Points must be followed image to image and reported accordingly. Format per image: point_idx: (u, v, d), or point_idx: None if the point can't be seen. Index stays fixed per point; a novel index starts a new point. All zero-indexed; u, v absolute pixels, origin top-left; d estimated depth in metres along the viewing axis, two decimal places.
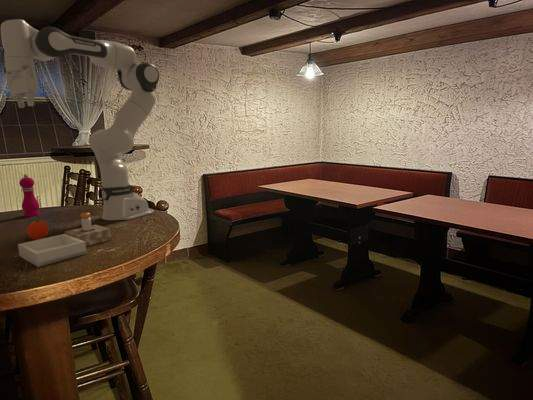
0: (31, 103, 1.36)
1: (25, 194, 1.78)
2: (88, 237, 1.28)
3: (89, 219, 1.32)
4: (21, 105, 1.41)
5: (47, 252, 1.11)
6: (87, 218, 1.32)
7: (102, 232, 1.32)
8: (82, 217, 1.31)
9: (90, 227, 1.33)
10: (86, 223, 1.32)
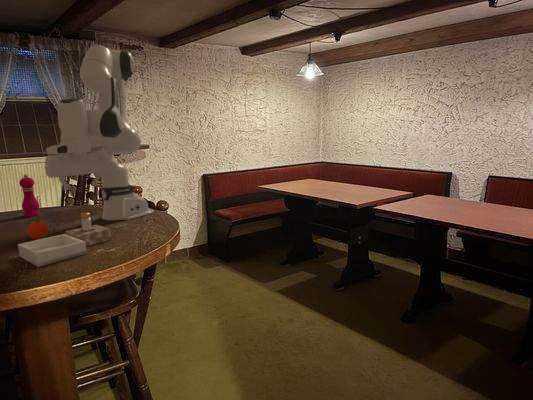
0: None
1: (25, 194, 1.78)
2: (88, 237, 1.28)
3: (89, 219, 1.32)
4: None
5: (47, 252, 1.11)
6: (87, 218, 1.32)
7: (102, 232, 1.32)
8: (82, 217, 1.31)
9: (90, 227, 1.33)
10: (86, 223, 1.32)
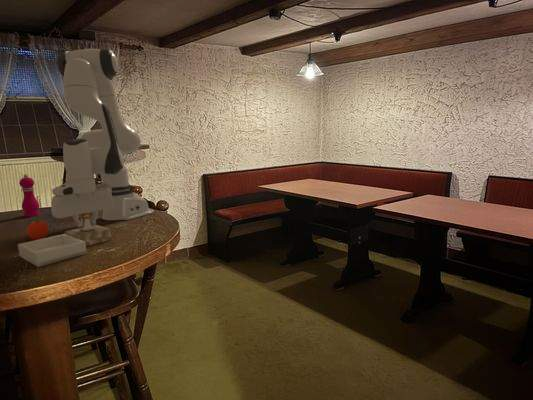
0: None
1: (25, 194, 1.78)
2: (88, 237, 1.28)
3: (89, 219, 1.32)
4: None
5: (47, 252, 1.11)
6: (87, 218, 1.31)
7: (102, 232, 1.32)
8: (82, 217, 1.31)
9: (90, 227, 1.33)
10: (86, 223, 1.31)
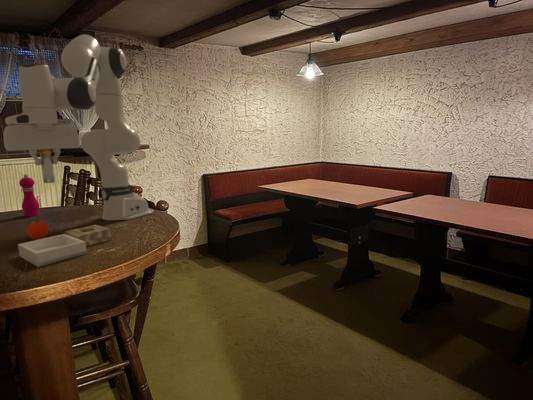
0: None
1: (25, 194, 1.78)
2: (88, 237, 1.28)
3: (49, 156, 1.16)
4: None
5: (47, 252, 1.11)
6: (47, 155, 1.15)
7: (102, 232, 1.32)
8: (41, 153, 1.15)
9: (50, 166, 1.16)
10: (46, 160, 1.15)
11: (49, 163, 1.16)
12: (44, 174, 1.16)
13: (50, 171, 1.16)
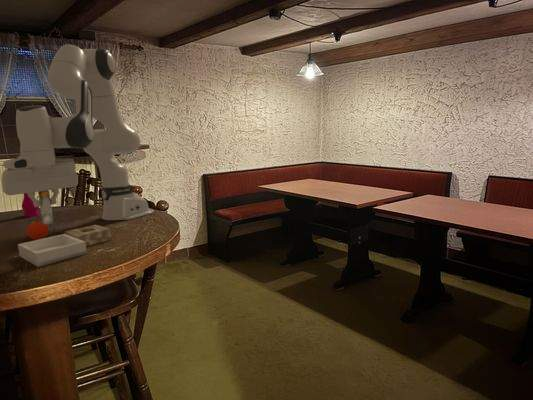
0: None
1: (25, 194, 1.78)
2: (88, 237, 1.28)
3: (48, 197, 1.16)
4: None
5: (47, 252, 1.11)
6: (45, 196, 1.15)
7: (102, 232, 1.32)
8: (39, 195, 1.15)
9: (49, 207, 1.16)
10: (44, 201, 1.15)
11: (48, 204, 1.16)
12: (43, 215, 1.16)
13: (49, 212, 1.16)
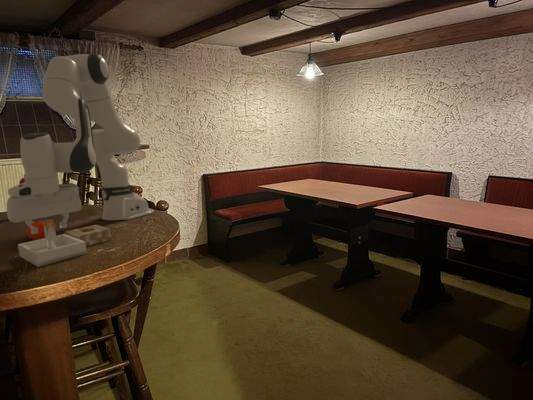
0: None
1: None
2: (88, 237, 1.28)
3: (53, 227, 1.18)
4: None
5: (47, 252, 1.11)
6: (50, 226, 1.17)
7: (102, 232, 1.32)
8: (45, 225, 1.17)
9: (54, 236, 1.18)
10: (49, 231, 1.17)
11: (53, 234, 1.18)
12: (48, 245, 1.18)
13: (54, 241, 1.18)
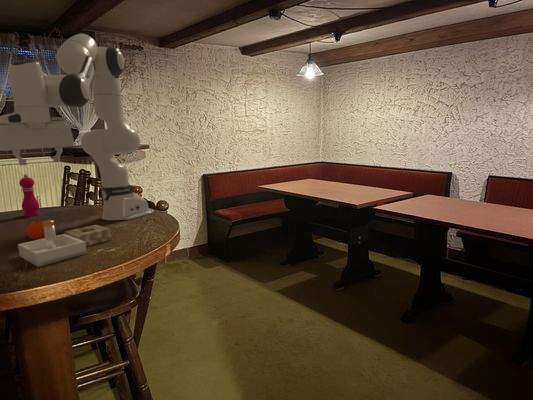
0: None
1: (25, 194, 1.78)
2: (88, 237, 1.28)
3: (53, 227, 1.18)
4: None
5: (47, 252, 1.11)
6: (50, 226, 1.17)
7: (102, 232, 1.32)
8: (44, 225, 1.17)
9: (54, 236, 1.18)
10: (49, 232, 1.17)
11: (52, 234, 1.18)
12: (48, 245, 1.18)
13: (54, 241, 1.18)
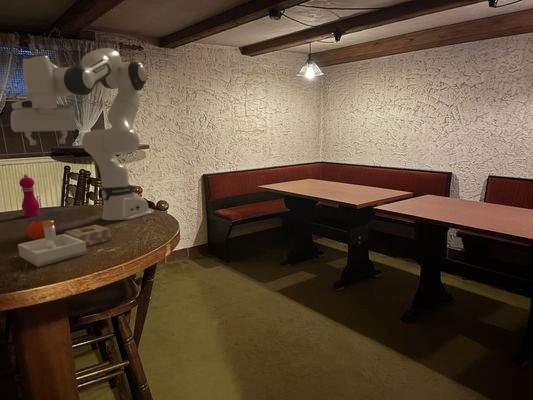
0: None
1: (25, 194, 1.78)
2: (88, 237, 1.28)
3: (53, 227, 1.18)
4: None
5: (47, 252, 1.11)
6: (50, 226, 1.17)
7: (102, 232, 1.32)
8: (44, 225, 1.17)
9: (54, 236, 1.18)
10: (49, 232, 1.17)
11: (52, 234, 1.18)
12: (48, 245, 1.18)
13: (54, 242, 1.18)
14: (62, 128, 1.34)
